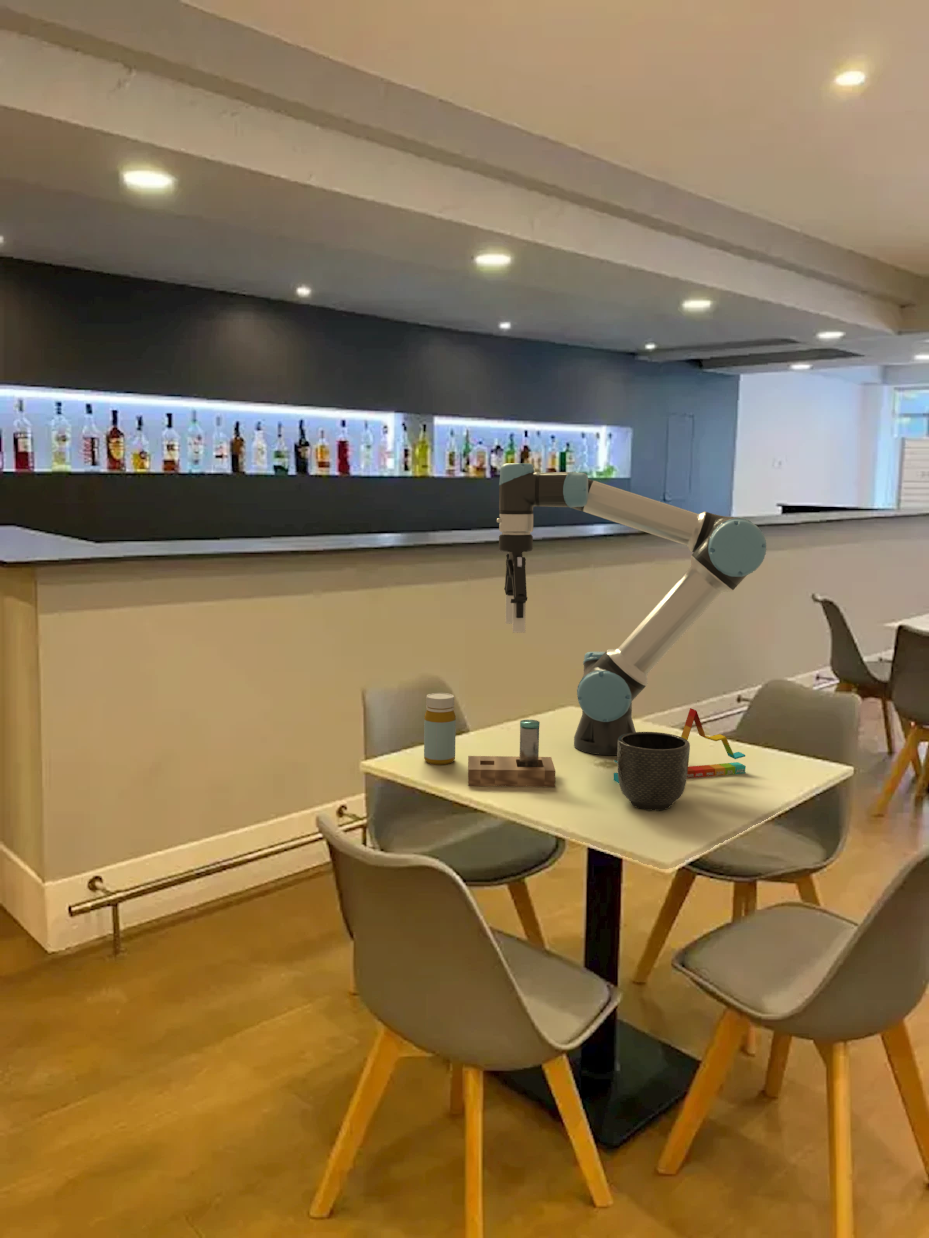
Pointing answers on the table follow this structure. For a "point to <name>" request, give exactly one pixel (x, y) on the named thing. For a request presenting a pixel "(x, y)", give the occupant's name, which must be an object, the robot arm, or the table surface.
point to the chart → (708, 769)
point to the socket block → (509, 772)
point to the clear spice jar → (529, 743)
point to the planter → (652, 768)
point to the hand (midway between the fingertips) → (514, 628)
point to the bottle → (439, 729)
